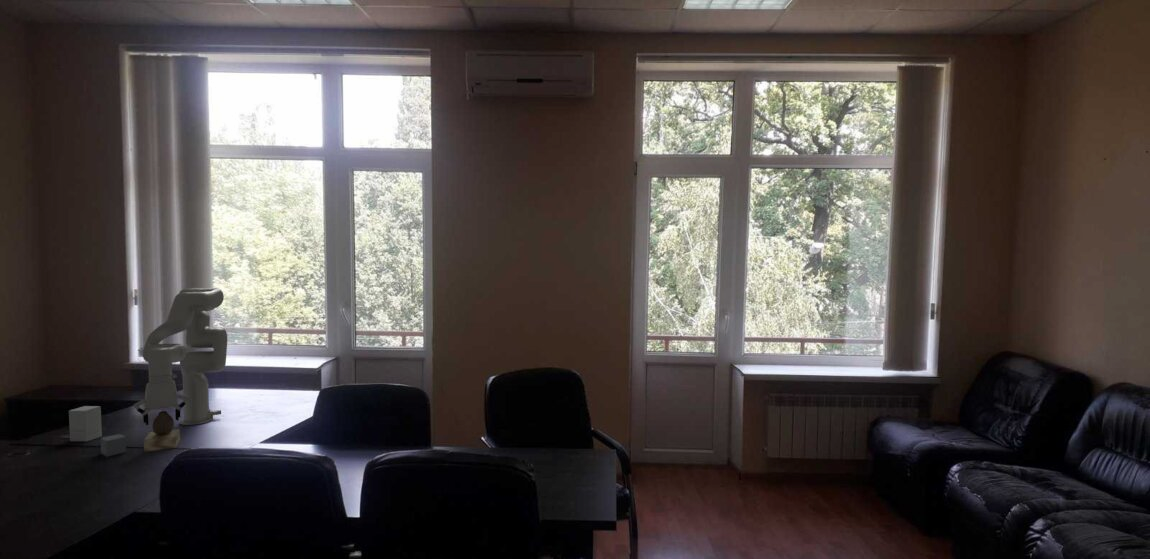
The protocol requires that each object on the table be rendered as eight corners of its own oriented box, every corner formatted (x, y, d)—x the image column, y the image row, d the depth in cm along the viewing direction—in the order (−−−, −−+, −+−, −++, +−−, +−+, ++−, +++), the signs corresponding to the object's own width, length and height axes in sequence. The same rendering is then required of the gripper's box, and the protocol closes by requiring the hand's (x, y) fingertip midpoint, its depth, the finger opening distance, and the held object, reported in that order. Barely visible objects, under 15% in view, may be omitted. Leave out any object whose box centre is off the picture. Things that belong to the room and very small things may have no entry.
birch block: (180, 441, 234) (179, 428, 233) (175, 448, 225) (175, 436, 225) (149, 444, 229) (149, 432, 229) (144, 452, 220) (143, 439, 220)
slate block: (120, 449, 223) (119, 433, 223) (126, 452, 220) (125, 436, 219) (101, 453, 218) (100, 437, 218) (106, 456, 215) (106, 440, 214)
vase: (178, 432, 229) (177, 410, 228) (159, 437, 223) (159, 415, 222) (166, 429, 232) (166, 408, 231) (148, 434, 225) (147, 412, 225)
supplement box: (102, 436, 238) (101, 406, 238) (85, 442, 231) (84, 410, 230) (86, 435, 239) (85, 405, 239) (69, 441, 232) (67, 410, 231)
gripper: (186, 374, 234) (187, 415, 235) (132, 380, 223) (134, 423, 224) (188, 377, 229) (189, 420, 230) (133, 384, 218) (135, 428, 218)
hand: (162, 421), depth 227 cm, fingers open, 9 cm apart
